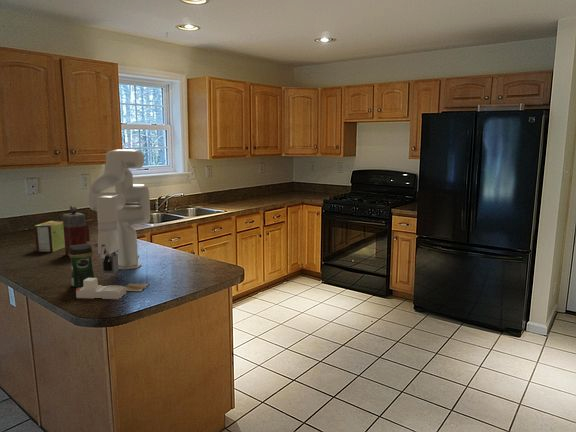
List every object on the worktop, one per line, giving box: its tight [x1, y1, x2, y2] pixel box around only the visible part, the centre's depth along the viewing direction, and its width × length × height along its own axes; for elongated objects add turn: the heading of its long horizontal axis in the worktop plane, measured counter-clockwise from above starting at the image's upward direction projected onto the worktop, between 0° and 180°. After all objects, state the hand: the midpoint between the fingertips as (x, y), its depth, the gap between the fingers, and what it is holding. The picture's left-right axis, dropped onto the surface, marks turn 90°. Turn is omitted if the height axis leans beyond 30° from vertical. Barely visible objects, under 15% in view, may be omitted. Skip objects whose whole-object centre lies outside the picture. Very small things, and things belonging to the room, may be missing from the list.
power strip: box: [75, 277, 127, 300], centre depth 183 cm, size 18×7×7 cm, turn 86°
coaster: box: [124, 283, 149, 292], centre depth 193 cm, size 9×9×1 cm
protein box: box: [33, 220, 65, 253], centre depth 261 cm, size 10×15×16 cm
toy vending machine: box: [62, 205, 91, 257], centre depth 247 cm, size 9×11×28 cm
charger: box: [101, 253, 120, 274], centre depth 182 cm, size 4×4×7 cm
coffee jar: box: [68, 243, 96, 288], centre depth 196 cm, size 10×8×19 cm
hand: (110, 268), depth 182 cm, fingers closed on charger, 4 cm apart
